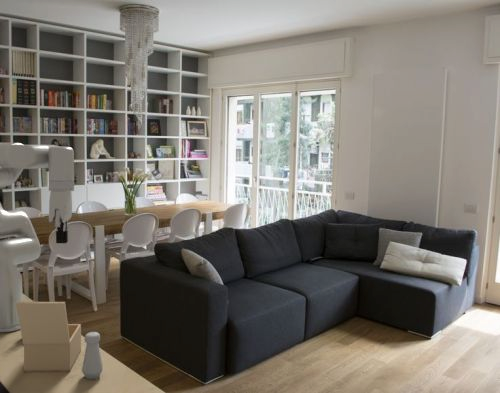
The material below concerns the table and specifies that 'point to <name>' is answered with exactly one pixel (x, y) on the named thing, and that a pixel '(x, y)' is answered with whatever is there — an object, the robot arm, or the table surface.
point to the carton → (53, 354)
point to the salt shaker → (92, 356)
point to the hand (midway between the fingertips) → (61, 242)
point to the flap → (43, 322)
